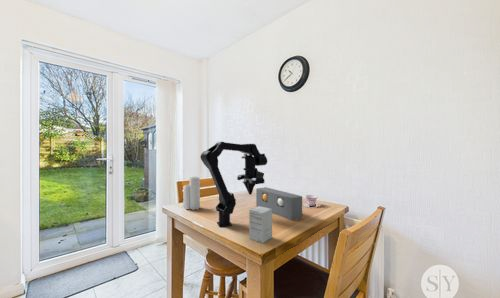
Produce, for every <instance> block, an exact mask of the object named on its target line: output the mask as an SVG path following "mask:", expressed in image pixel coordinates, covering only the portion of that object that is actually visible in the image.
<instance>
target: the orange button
mask: <svg viewBox="0 0 500 298" xmlns="http://www.w3.org/2000/svg"><path fill="white" fill-rule="evenodd" d="M263 200H264V201H268V194H263Z"/></svg>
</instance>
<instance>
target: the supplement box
mask: <svg viewBox="0 0 500 298" xmlns="http://www.w3.org/2000/svg"><path fill="white" fill-rule="evenodd" d="M248 211H249V213H248V214H249V217H248V219H249V221H248V222H249V225H248V226H249V227H248V228H249V231H248V232H249V239H250V240H251V241H256V242H258V243H261V244H264V243H265V242H267V241H269V240H270V239H272V238H273V213H272V209H270V208H265V207H260V206H258V207H256V206H255V207H254V208H251V209H249V210H248Z"/></svg>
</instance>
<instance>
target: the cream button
mask: <svg viewBox="0 0 500 298" xmlns="http://www.w3.org/2000/svg"><path fill="white" fill-rule="evenodd" d="M278 205H279V206H284V198H279V199H278Z"/></svg>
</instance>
